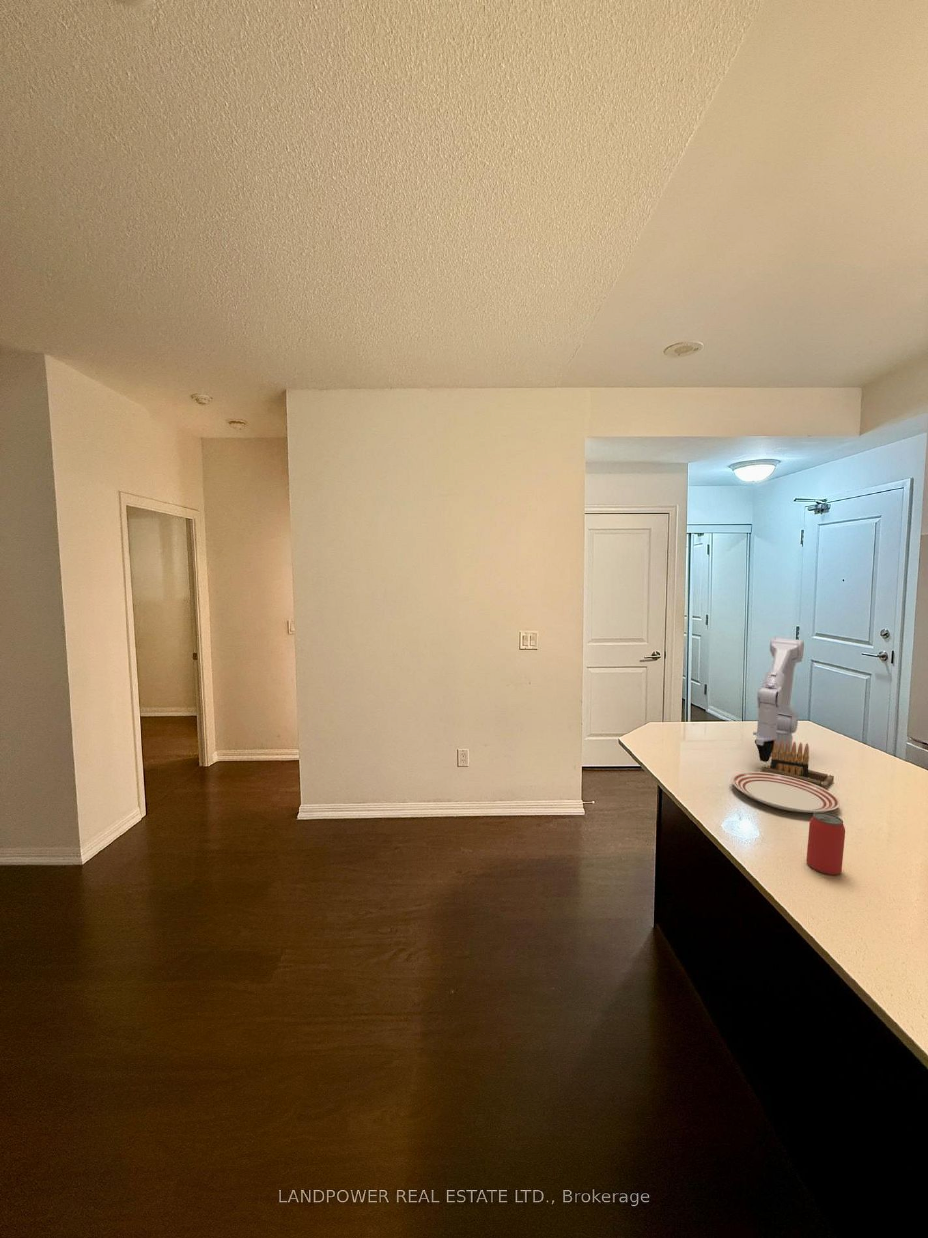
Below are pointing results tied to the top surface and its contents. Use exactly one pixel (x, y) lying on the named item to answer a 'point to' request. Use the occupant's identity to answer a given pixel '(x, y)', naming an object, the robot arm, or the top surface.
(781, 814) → the top surface
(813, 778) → the guide rails
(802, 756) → the ammunition clip
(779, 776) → the dinner plate
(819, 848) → the beer can
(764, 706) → the robot arm
